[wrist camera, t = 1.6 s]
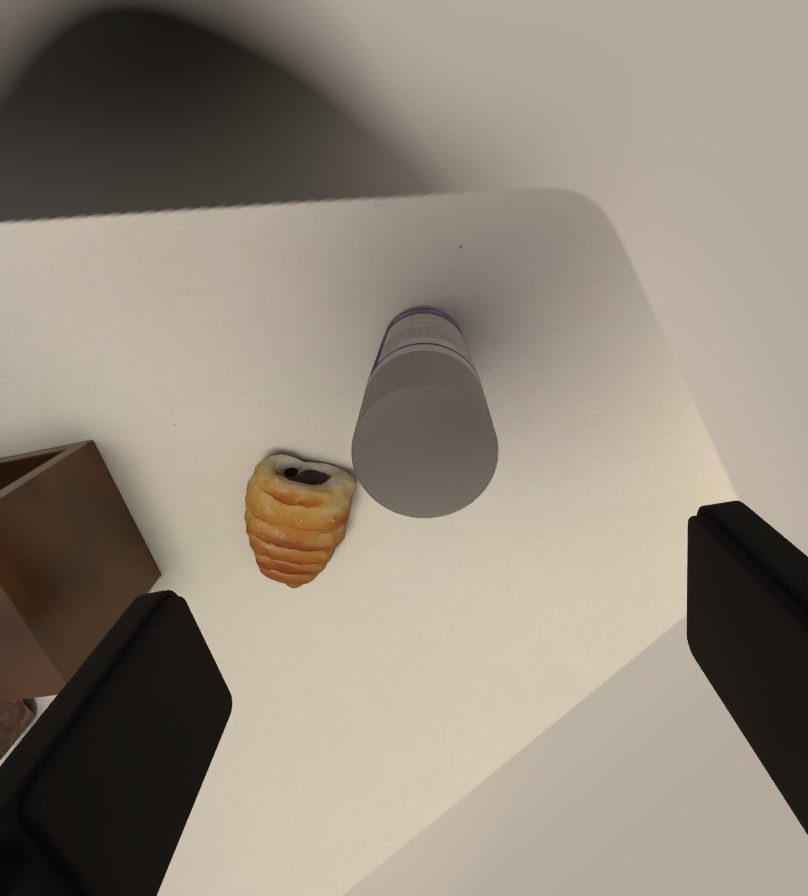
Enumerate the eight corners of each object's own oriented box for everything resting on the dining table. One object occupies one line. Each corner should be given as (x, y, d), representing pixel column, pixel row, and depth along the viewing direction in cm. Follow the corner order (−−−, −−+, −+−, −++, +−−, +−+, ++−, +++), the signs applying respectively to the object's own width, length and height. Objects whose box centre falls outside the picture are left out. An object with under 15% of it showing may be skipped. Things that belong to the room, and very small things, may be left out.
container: (434, 400, 30) (445, 545, 16) (368, 359, 29) (319, 476, 15) (479, 334, 28) (535, 434, 14) (410, 289, 27) (399, 349, 13)
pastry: (336, 579, 35) (326, 617, 32) (244, 559, 35) (224, 596, 32) (360, 466, 32) (352, 495, 28) (257, 442, 31) (236, 469, 28)
